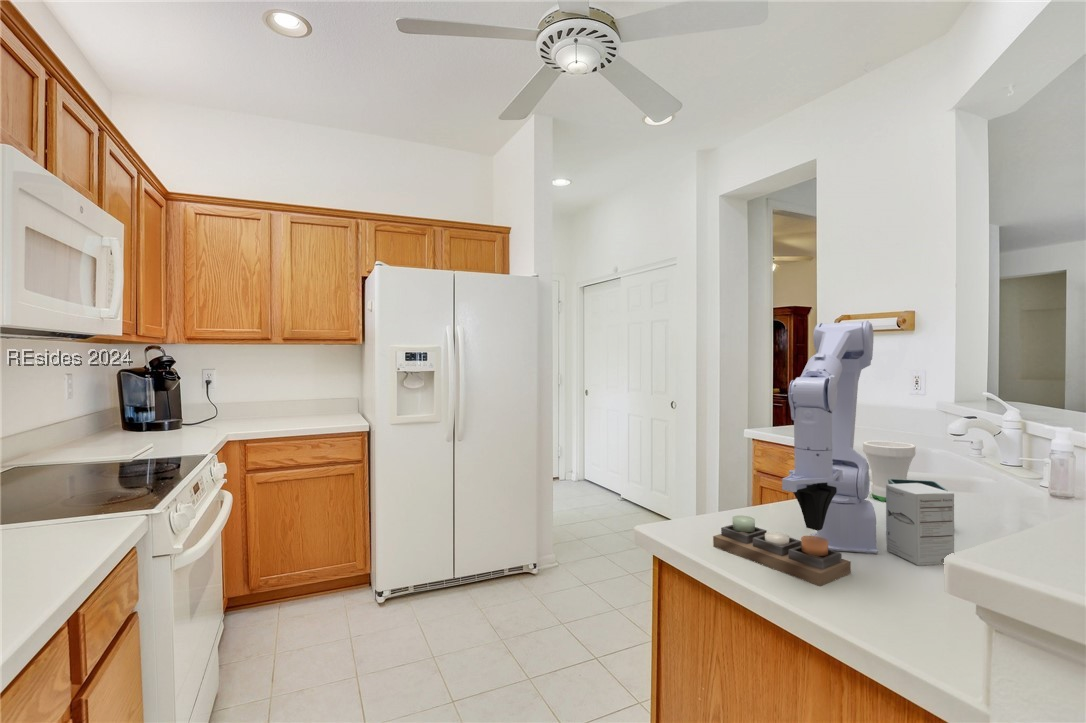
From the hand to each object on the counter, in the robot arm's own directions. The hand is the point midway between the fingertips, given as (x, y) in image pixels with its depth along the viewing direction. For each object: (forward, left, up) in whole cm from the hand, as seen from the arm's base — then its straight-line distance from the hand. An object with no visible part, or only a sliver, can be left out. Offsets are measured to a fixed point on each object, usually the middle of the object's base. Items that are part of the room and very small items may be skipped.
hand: (814, 528), depth 86 cm
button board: (+5, -5, -7) cm, 10 cm away
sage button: (+10, -10, -4) cm, 15 cm away
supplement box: (-20, -11, -8) cm, 24 cm away
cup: (-31, -53, -8) cm, 62 cm away
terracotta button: (0, 0, -4) cm, 4 cm away
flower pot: (-28, -31, -8) cm, 42 cm away
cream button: (+5, -5, -5) cm, 9 cm away
